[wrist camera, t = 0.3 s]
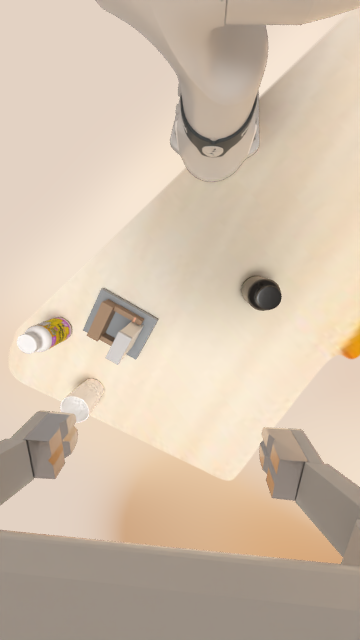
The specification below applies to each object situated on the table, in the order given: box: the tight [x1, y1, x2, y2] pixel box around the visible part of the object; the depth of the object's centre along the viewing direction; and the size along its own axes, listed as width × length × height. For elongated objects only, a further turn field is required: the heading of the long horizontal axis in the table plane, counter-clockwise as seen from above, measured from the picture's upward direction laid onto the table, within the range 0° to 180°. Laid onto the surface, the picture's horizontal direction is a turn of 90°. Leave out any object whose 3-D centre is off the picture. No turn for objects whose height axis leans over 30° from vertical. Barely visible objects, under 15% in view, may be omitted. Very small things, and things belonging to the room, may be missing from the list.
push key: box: [106, 322, 144, 365], centre depth 53 cm, size 3×7×11 cm, turn 151°
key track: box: [83, 288, 158, 359], centre depth 57 cm, size 16×13×6 cm
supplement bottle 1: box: [17, 318, 72, 354], centre depth 56 cm, size 7×7×13 cm
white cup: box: [60, 379, 104, 423], centre depth 61 cm, size 8×8×10 cm
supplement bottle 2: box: [241, 276, 282, 311], centre depth 48 cm, size 7×7×12 cm
